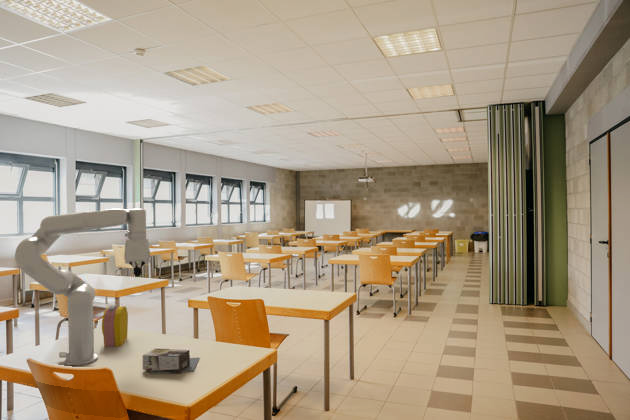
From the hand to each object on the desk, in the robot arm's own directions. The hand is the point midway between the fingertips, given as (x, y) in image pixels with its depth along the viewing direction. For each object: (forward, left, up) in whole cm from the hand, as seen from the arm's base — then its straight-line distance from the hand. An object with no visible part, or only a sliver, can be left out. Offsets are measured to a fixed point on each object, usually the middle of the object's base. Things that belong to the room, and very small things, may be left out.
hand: (137, 276), depth 190 cm
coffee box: (+9, -19, -32) cm, 38 cm away
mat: (+20, -18, -35) cm, 44 cm away
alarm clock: (-16, +18, -35) cm, 43 cm away
